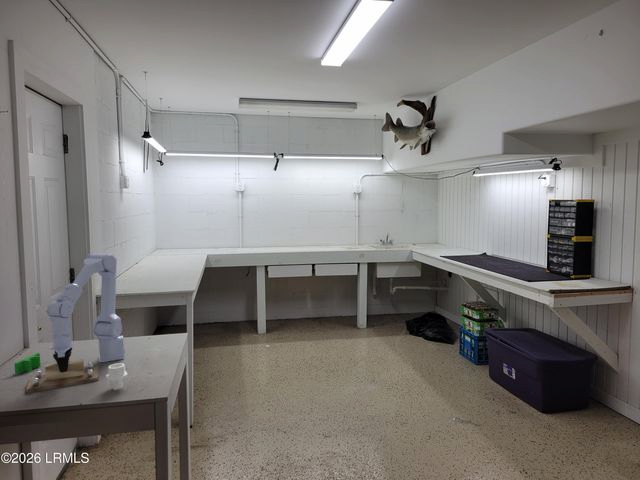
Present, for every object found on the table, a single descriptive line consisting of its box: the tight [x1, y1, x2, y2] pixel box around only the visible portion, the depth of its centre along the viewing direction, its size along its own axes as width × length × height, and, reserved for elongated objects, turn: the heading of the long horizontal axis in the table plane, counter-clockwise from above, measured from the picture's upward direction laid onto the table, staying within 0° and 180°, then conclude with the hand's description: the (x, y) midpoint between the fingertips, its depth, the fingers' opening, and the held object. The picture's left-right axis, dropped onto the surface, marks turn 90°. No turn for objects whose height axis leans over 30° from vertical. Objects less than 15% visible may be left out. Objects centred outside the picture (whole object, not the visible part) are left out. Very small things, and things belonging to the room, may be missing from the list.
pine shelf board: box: [44, 359, 85, 381], centre depth 158 cm, size 3×12×5 cm, turn 117°
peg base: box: [25, 361, 100, 394], centre depth 158 cm, size 22×12×4 cm, turn 117°
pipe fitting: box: [105, 362, 129, 391], centre depth 152 cm, size 6×7×8 cm
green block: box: [14, 352, 42, 375], centre depth 170 cm, size 11×4×5 cm, turn 173°
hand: (64, 370), depth 158 cm, fingers closed on pine shelf board, 3 cm apart
